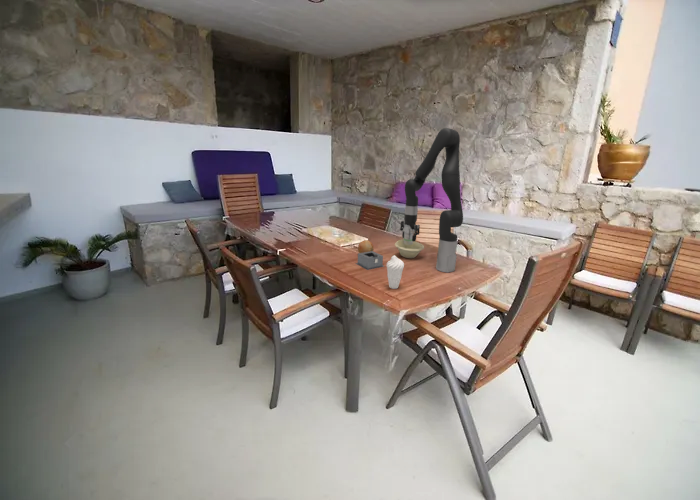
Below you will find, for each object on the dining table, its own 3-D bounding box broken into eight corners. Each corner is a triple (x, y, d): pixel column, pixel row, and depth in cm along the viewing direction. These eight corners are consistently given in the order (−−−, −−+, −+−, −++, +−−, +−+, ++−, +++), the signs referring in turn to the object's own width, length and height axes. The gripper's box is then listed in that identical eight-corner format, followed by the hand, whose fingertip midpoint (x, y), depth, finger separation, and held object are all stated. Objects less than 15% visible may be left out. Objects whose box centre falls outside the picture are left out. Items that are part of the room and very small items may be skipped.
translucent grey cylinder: (413, 244, 195) (415, 225, 192) (407, 245, 193) (409, 226, 189) (408, 242, 199) (409, 223, 195) (402, 243, 196) (404, 224, 193)
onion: (368, 259, 191) (369, 243, 188) (354, 256, 196) (354, 240, 193) (376, 255, 199) (377, 240, 196) (362, 252, 204) (363, 237, 201)
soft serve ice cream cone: (400, 283, 156) (403, 252, 152) (404, 290, 148) (406, 258, 144) (383, 283, 156) (385, 252, 151) (386, 290, 148) (388, 258, 143)
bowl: (405, 259, 208) (424, 246, 205) (407, 266, 190) (428, 252, 187) (392, 242, 206) (411, 228, 203) (393, 247, 189) (414, 233, 186)
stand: (384, 267, 177) (385, 253, 175) (367, 271, 171) (368, 257, 169) (372, 261, 187) (372, 248, 185) (355, 265, 181) (355, 251, 178)
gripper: (424, 214, 186) (421, 241, 191) (407, 210, 197) (405, 236, 202) (414, 215, 182) (412, 243, 187) (398, 211, 194) (396, 237, 198)
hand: (408, 239), depth 194 cm, fingers open, 8 cm apart
